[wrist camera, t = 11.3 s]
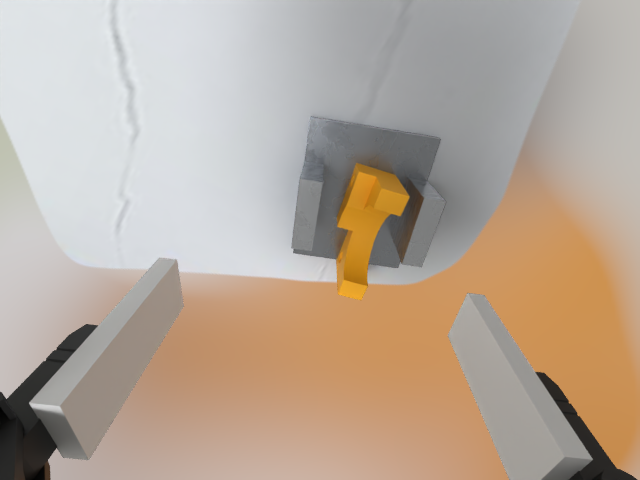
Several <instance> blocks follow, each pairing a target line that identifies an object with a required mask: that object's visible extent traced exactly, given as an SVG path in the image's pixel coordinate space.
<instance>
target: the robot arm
mask: <svg viewBox="0 0 640 480" xmlns="http://www.w3.org/2000/svg"><path fill="white" fill-rule="evenodd" d="M183 307H184V304H183V298H182V291H181V284H180V277H179V270H178V264H177V260H176V259H167V258H159V259H158V260H157V261H156V262H155V263H154V264H153V265H152V267H151V268H150V269H149V270H148V271H147V272H146V273H145V274H144V275H143V277H142V278H141V279H140V280H139V281H138V282H137V283H136V284H135V286H134V287H133V288H132V289H131V290H130V291H129V292H128V293H127V294H126V295H125V297H124V298H123V299H122V300H121V301H120V302H119V303H118V304H117V305H116V307H115V308H114V309H113V310H112V311H111V312H110V313H109V314H108V315H107V317H106V318H105V319H104V320H103V321H102V322H101V324H99V325H89V324H86V325H84V326H83V327H81V328H79V329H78V330H76V331H75V332H73V333H71V334H70V335H69V336H68V337H67V338H66V339H65V340H64V341H63V342H62V343H61V344H60V345H59V346H58V347H57V350H54V351H53V352H52V353H51V354H50V355H49V356H48V357H47V358H46V361H44V362H42V363H41V364H40V366H39V367H38V368H37V369H36V370H35V371H34V372H33V373H32V374H31V375H30V376H29V377H28V378H27V379H26V380H25V381H24V382H23V383H22V384H21V385H20V386H19V387H18V388H17V389H16V390H15V391H14V392H13V393H12V394H11V395H10V396H9V398H7V399H6V398H5V397H4V395H3V394H2V392H0V480H50V465H49V463H48V459H49V458H50V456H51V455H52V453H53V452H54V451H55V449H56V448H57V449H58V450H59V452H60V454H61V455H62V457H63V458H73V459H84V460H89V459H90V458H91V456H92V454H93V453H94V451H95V450H96V448H97V446H98V445H99V443H100V442H101V440H102V438H103V437H104V435H105V433H106V432H107V430H108V428H109V427H110V425H111V424H112V422H113V420H114V419H115V417H116V416H117V414H118V412H119V411H120V409H121V407H122V406H123V404H124V402H125V401H126V399H127V398H128V396H129V394H130V393H131V391H132V390H133V388H134V386H135V385H136V383H137V381H138V380H139V378H140V376H141V375H142V373H143V372H144V370H145V368H146V367H147V365H148V364H149V362H150V360H151V359H152V357H153V355H154V353H155V352H156V351H157V349H158V347H159V346H160V344H161V342H162V341H163V339H164V338H165V336H166V334H167V333H168V331H169V329H170V328H171V326H172V325H173V323H174V321H175V320H176V318H177V317H178V315H179V313H180V312H181V310H182V308H183ZM448 337H449V339H450V342H451V344H452V347H453V349H454V351H455V353H456V356H457V358H458V361H459V363H460V365H461V368H462V370H463V372H464V375H465V377H466V379H467V382H468V384H469V386H470V389H471V391H472V393H473V396H474V398H475V400H476V403H477V405H478V407H479V410H480V412H481V414H482V417H483V419H484V421H485V424H486V426H487V428H488V431H489V433H490V435H491V438H492V440H493V442H494V445H495V447H496V449H497V452H498V454H499V457H500V459H501V461H502V464H503V466H504V468H505V471H506V473H507V475H508V478H509V480H637V479H636V478H634V477H633V476H632V475H630V474H628V473H626V472H624V471H622V470H620V469H617V468H616V467H615V465H614V464H613V463H612V462H611V460H610V459H609V457H608V456H607V455H606V453H605V452H604V450H603V449H602V447H601V446H600V445H599V443H598V442H597V440H596V439H595V437H594V436H593V435H592V433H591V432H590V430H589V429H588V428H587V426H586V425H585V423H584V422H583V420H582V419H581V418H580V417H579V416H578V415H577V412H576V411H575V409H574V408H573V406H572V405H571V404H569V401H568V399H567V398H566V396H565V395H564V393H563V392H562V391H561V389H560V388H559V387H558V385H557V384H555V383H554V382H553V381H552V380H551V379H550V378H549V377H548V376H547V375H546V374H545V373H541V372H535V371H534V370H533V368H532V367H531V365H530V364H529V362H528V361H527V359H526V358H525V356H524V355H523V353H522V352H521V350H520V348H519V347H518V345H517V344H516V343H515V341H514V339H513V338H512V336H511V335H510V333H509V332H508V330H507V329H506V327H505V326H504V324H503V323H502V322H501V320H500V318H499V317H498V315H497V314H496V312H495V311H494V309H493V308H492V306H491V305H490V304H489V302H488V300H487V299H486V297H485V296H484V295H480V294H472V293H467V295H466V297H465V299H464V302H463V304H462V306H461V308H460V310H459V313H458V315H457V317H456V319H455V321H454V323H453V325H452V327H451V330H450V332H449V334H448Z"/></svg>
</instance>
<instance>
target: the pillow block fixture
mask: <svg viewBox="0 0 640 480" xmlns="http://www.w3.org/2000/svg"><path fill="white" fill-rule="evenodd" d="M440 140H441V139H440V138H438V137H433V136H427V135H421V134H415V133H408V132H402V131H396V130H390V129H384V128H378V127H372V126H366V125H360V124H354V123H348V122H342V121H336V120H330V119H324V118H318V117H310V124H309V132H308V140H307V148H306V156H305V162H304V166H303V169H302V173H301V176H300V181H299V189H298V197H297V206H296V214H295V222H294V230H293V239H292V247H291V248H293V249H294V251H293V253H296V254H303V255H310V256H317V257H324V258H331V259H337V258H338V255H339V253H340V250H341V247H342V245H343V242H344V240H345V237H346V235H347V232H348V230H347V229H343V228H340V227H337V216H338V213H339V210H340V207H341V204H342V202H343V199H344V196H345V193H346V190H347V188H348V185H349V182H350V179H351V176H352V174H353V171H354V168H355V165H356V163H359V164H362V165H365V166H368V167H372V168H375V169H378V170H381V171H385V172H388V173H391V174H394V175H396V176H397V178H398V179H399V181H400V183H401V184H402V186H403V187H404V189H405V190H406V192H407V193H408V195H409V196H410V198H409V200H408V202H407V204H406V206H405V208H404V210H403V212H402V215H401V216H397V215H394V214H390V215H389V216H388V217H387V218H386V219H385V221H384V222H383V224H382V225H381V227H380V229H379V231H378V233H377V236H376V238H375V241H374V243H373V247H372V250H371V254H370V258H369V263H368V264H373V265H380V266H387V267H394V268H398V266H399V263H400V260H401V263H402V264H404V265H411V266H418V267H422V265H423V262H424V259H425V257H426V254H427V251H428V249H429V246H430V243H431V241H432V238H433V236H434V233H435V230H436V228H437V225H438V222H439V220H440V217H441V214H442V212H443V209H444V206H445V204H446V201H445V200H444V199H443V197H442V196H441V195H440V194H439V193H438V192H437V191H436V190H435V189H434V188H433V186H432V185H431V184H430V183H429V182H428V181H427V179H428V176H429V173H430V170H431V167H432V164H433V161H434V158H435V155H436V152H437V149H438V146H439V143H440Z"/></svg>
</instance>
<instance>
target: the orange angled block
mask: <svg viewBox="0 0 640 480" xmlns="http://www.w3.org/2000/svg"><path fill="white" fill-rule="evenodd" d="M409 198H410V196H409V195H408V193H407V192H406V190H405V189H404V187H403V186H402V184H401V183H400V181H399V179H398V178H397V176H396V175H394V174H391V173H388V172H385V171H381V170H378V169H375V168H372V167H368V166H365V165H362V164H359V163H356V165H355V168H354V171H353V174H352V176H351V179H350V182H349V185H348V188H347V190H346V193H345V196H344V199H343V202H342V204H341V207H340V210H339V213H338V216H337V227H340V228H343V229H347V230H348V232H347V235H346V237H345V240H344V242H343V245H342V247H341V250H340V253H339V255H338V258H337V260H336V264H337V287H338V288H337V290H338V295H342V296H346V297H350V298H354V299H358V300H361V299H362V298H363V295H364V293H365V291H366V289H367V287H368V284H367V271H368V263H369V258H370V254H371V250H372V247H373V243H374V241H375V238H376V236H377V233H378V231H379V229H380V227H381V225H382V224H383V222H384V221H385V219H386V218H387V217H388V216H389V215H390V214H394V215H397V216H401V215H402V212H403V210H404V208H405V206H406V204H407V202H408V200H409Z"/></svg>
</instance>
